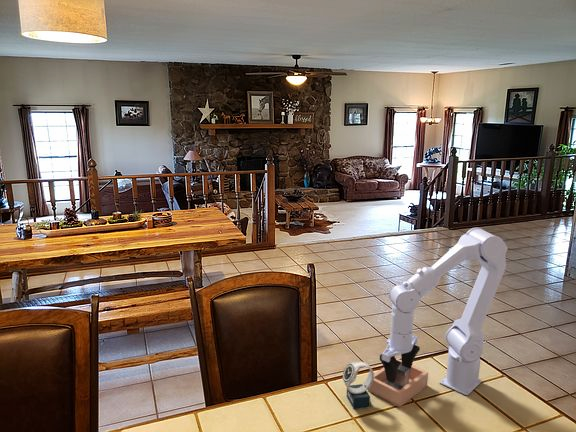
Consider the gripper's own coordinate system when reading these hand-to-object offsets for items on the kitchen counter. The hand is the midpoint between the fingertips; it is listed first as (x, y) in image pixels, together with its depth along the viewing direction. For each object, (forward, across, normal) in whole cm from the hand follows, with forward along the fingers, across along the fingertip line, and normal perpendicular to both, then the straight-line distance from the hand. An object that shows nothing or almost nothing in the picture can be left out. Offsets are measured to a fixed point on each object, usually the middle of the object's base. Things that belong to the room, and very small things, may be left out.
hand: (398, 375), depth 123 cm
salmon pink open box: (+4, 0, 0) cm, 4 cm away
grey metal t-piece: (+3, 0, 0) cm, 3 cm away
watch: (+4, +13, -4) cm, 14 cm away
